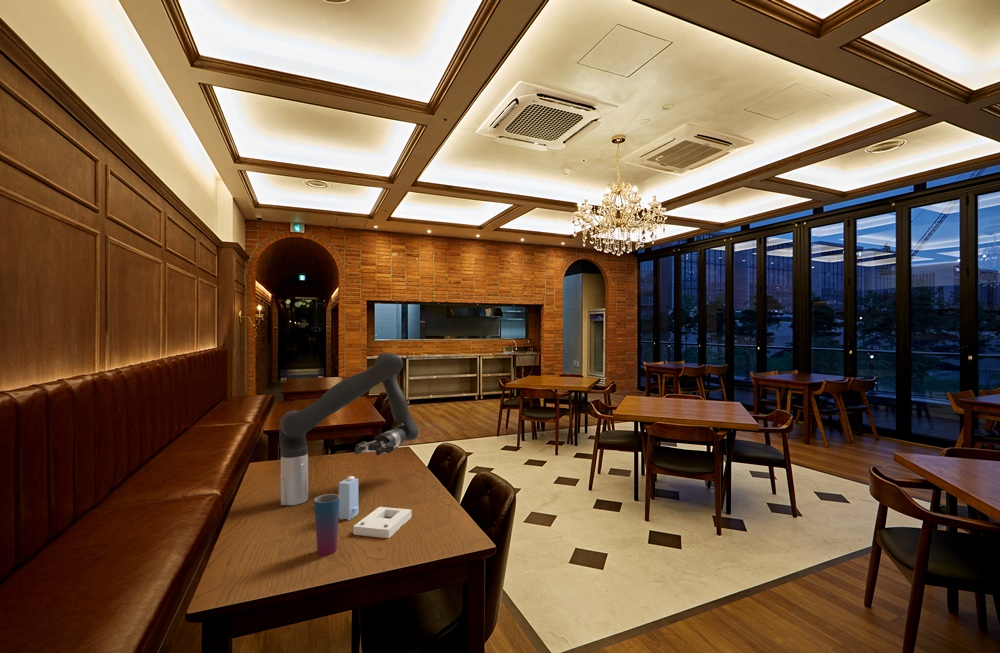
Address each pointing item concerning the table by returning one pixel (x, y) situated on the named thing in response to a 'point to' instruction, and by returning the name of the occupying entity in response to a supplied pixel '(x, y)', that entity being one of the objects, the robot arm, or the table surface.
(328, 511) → the cup
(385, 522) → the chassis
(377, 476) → the table surface
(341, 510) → the block
